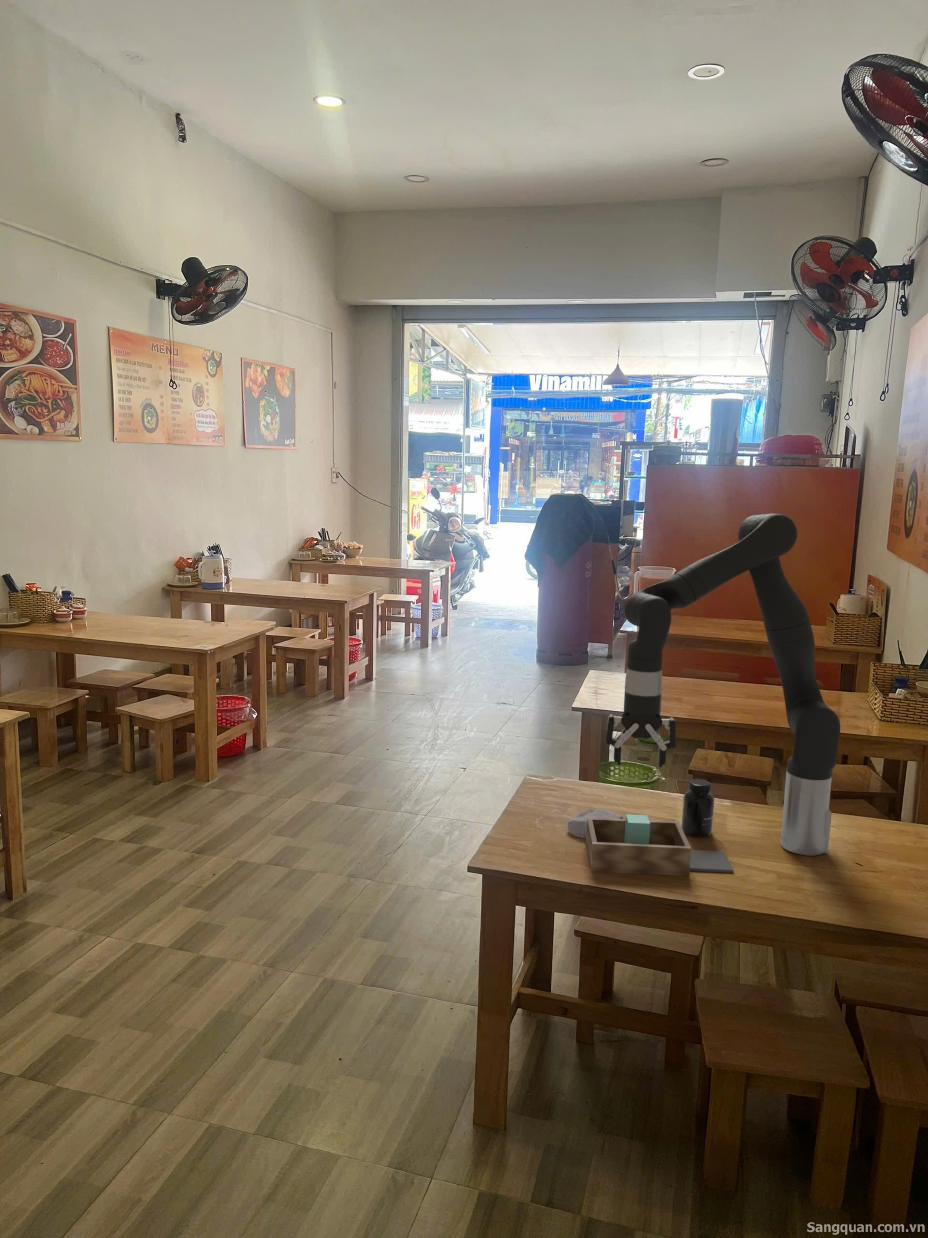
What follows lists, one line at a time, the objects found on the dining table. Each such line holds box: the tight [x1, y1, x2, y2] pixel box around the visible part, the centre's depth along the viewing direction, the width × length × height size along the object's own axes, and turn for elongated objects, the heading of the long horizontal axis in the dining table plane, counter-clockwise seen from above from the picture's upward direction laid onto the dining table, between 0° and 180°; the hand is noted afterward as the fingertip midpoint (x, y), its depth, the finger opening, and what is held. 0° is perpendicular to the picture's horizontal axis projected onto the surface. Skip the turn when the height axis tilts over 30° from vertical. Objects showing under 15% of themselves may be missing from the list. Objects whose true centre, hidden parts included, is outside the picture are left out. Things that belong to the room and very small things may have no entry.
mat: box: [690, 849, 735, 874], centre depth 186 cm, size 9×9×1 cm
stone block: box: [567, 808, 624, 839], centre depth 201 cm, size 12×5×10 cm
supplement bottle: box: [681, 778, 715, 838], centre depth 200 cm, size 7×7×12 cm
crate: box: [585, 817, 692, 877], centre depth 186 cm, size 20×14×6 cm
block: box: [624, 813, 650, 845], centre depth 186 cm, size 4×4×7 cm
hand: (639, 765), depth 184 cm, fingers open, 8 cm apart
